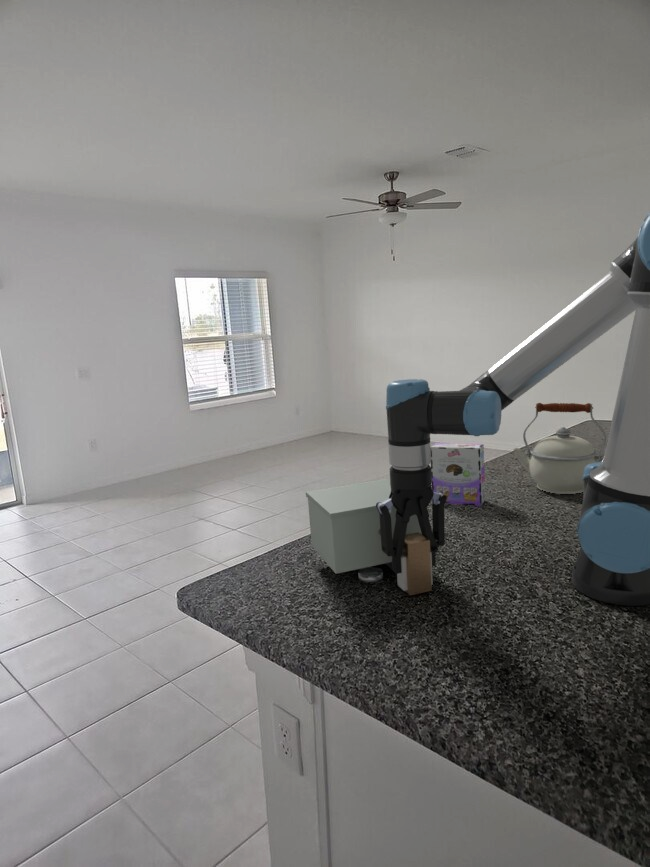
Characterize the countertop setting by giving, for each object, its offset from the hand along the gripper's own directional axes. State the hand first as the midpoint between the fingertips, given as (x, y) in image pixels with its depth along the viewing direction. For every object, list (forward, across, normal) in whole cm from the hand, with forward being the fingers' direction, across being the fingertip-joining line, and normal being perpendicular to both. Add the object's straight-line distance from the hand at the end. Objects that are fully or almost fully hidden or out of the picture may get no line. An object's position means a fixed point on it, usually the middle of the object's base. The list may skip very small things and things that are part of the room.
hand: (415, 584), depth 105 cm
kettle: (+1, -66, -40) cm, 77 cm away
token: (+2, +5, -10) cm, 11 cm away
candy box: (+2, -35, -43) cm, 55 cm away
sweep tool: (+1, 0, -5) cm, 5 cm away
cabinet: (+1, +4, -14) cm, 15 cm away
